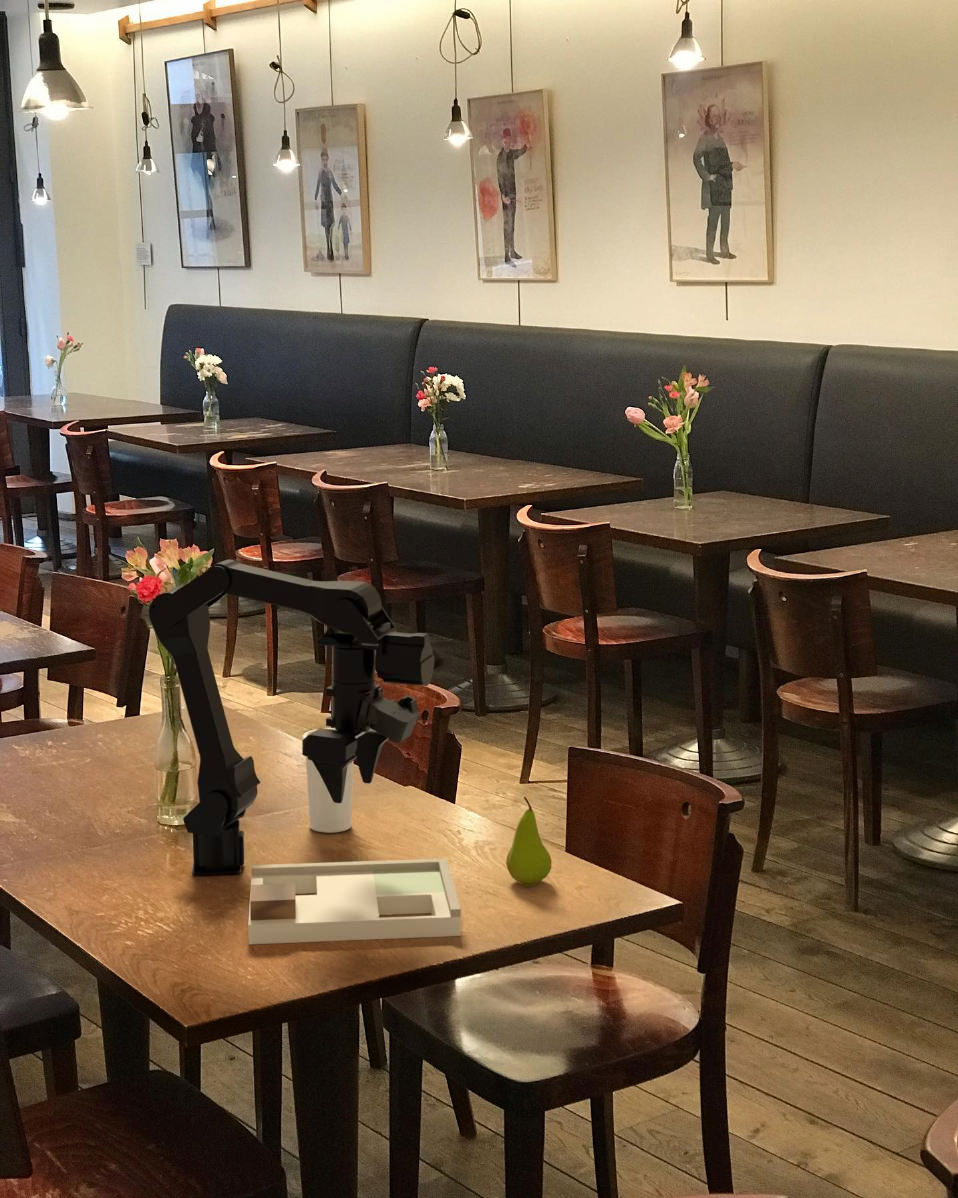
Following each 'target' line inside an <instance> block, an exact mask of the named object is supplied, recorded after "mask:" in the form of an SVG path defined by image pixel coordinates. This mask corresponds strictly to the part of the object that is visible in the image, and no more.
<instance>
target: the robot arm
mask: <svg viewBox="0 0 958 1198" xmlns="http://www.w3.org/2000/svg"><path fill="white" fill-rule="evenodd" d="M226 595H231V596H235V597H238V598H239V597H241V598H243V599H248V600H252V601H255V602H261V603H265V604H267V605H268V604H270V605H273V606H278V607H282V608H285V609H290V610H294V611H298V612H302V613H304V614H307V615H309V616H310V617H311V618H313V619H314V620H315V621H317V622H318V623H320V624H322V625H324V626H327V627H328V628H327V629H326V631H325V632H324V633H323V634H322V635H321V636H320V637H318V638H317V639H316V641H315V642H316V644H317V645H318V646H328V647H329V646H330V647H332V648H331V651H332V652H331V653H332V654H331V685H330V686H327V687H326V689H325V696H326V697H331V715H330V716H328V717H327V718H325V727H329V728H335V730H331V729H324V728H321V727H320V728H318V730H316V729H315V730H316V731H314V732H312V733H311V734H309V735H308V736H307V737H306V738H305V739H303V740H301V741H302V743H301V745H302V747H301V748H302V749H301V750H302V753H301V754H302V756H303V757H306V756H307V757H308V759H309V760H312V762H313V764H314V765H315V767H316V769H317V770H318V772H319V774H320V776H321V778H322V780H323V782H324V784H325V786H326V788H327V790H328V792H329V794H330V796H331V798H332V800H333V802H334V803H342V800H343V795H344V789H345V781H346V773H347V767H348V765H349V764H350V763H351V762H352V761H353V760H354V761H355V760H356V762H357V765H358V769H359V773H360V777H361V780H362V782H363V783H364V784H369V785H370V784H371V783H372V782H373V778H374V774H375V771H376V767H377V764H378V761H379V758H380V754H381V751H382V749H383V747H384V746H383V745H384V744H385V742H387V741H388V740H389V741H391V742H392V743H396V744H401V743H402V742H403V741H404V740H405V739H407V738H409V737H411V735H412V732H413V731H414V727H415V725H416V724H417V723H418V722H419V721H420V716H419V715H420V712H419V711H418V710H419V709H418V702H417V701H418V700H417V699H416V698H415V697H412V696H410V695H405V696H404V697H402V698H401V699H399V700H398V701H396V699H395V698H393V699H392V700H391V699H387V698H385V697H384V689H383V687H382V684H377V683H376V681H377V680H376V674H377V678H379V679H382V682H384V683H386V684H387V683H388V684H398V685H407V686H408V685H409V686H410V685H411V686H419V687H428V686H429V685H430V683H431V681H432V678H433V674H434V668H435V654H434V653H433V652H434V651H433V647H432V645H431V643H430V635H429V633H426V632H424V633H423V632H415V633H408V632H397V631H398V628H397V626H396V625H395V623H394V621H393V620H392V619H391V618H390V616H389V614H388V613H387V612H386V610H385V608H384V607H383V605H382V599H381V595H380V593H378V591H377V589H376V587H375V586H374V585H372V584H370V583H368V582H364V581H352V580H333V581H332V580H330V581H329V580H328V581H319V580H312V579H307V578H303V577H299V576H296V575H291V574H285V573H284V572H283V573H282V572H278V571H275V570H274V571H272V570H270V569H265V568H262V567H256V566H251V565H247V564H244V563H240V562H238V561H236V560H234V559H225V560H222V561H220V562H217V563H214V564H211V566H209V567H208V569H207V570H206V571H205V572H203V573H202V574H200V575H199V576H197V577H195V578H194V579H192V580H191V581H189V582H187V583H186V584H185V585H184V584H183V585H180V586H178V587H175V588H173V589H170V590H168V591H167V590H166V591H165V592H163V593H160V594H158V595H156V596H155V597H154V598H153V599H152V601H151V602H150V605H149V606H148V613H147V614H148V619H149V622H150V624H151V626H152V628H153V632H154V633H155V635H156V637H157V640H158V642H159V643H160V644H161V645H162V647H163V648H164V649H165V651H167V653H168V654H169V655H170V656H171V658H172V659H173V663H174V667H175V670H176V674H177V677H178V680H179V685H180V689H181V693H182V696H183V699H184V700H183V701H184V703H185V707H186V711H187V714H188V718H189V722H190V725H191V729H192V732H193V737H194V740H195V743H196V749H197V750H198V751H197V753H198V755H199V767H198V774H197V781H196V782H197V791H198V801H199V802H198V803H197V804H196V805H195V806H194V807H193V808H192V809H191V810H190V811H189V812H188V813H187V814H185V816H183V818H182V821H183V824H184V826H185V830H186V831H187V833H189V834H192V853H193V855H192V857H193V865H192V868H191V869H192V871H191V874H192V876H213V875H214V876H216V875H239V874H241V868H242V866H244V865H245V859H246V857H245V831H244V830H240V819H241V818H244V817H245V814H246V812H247V809H248V808H249V807H250V806H251V805H253V804H254V802H255V800H256V799H257V796H258V792H259V791H258V785H260V784H261V781H260V779H259V777H258V776H257V774H256V770H255V762H254V761H255V760H254V758H253V756H251V755H249V756H246V757H244V758H243V757H242V756H241V754H240V753H239V752H238V751H237V750H236V748H235V746H234V743H233V738H232V736H231V732H230V727H229V725H228V721H227V717H226V713H225V709H224V705H223V702H222V697H221V695H220V694H221V693H220V691H219V688H218V687H219V686H218V683H217V680H216V676H215V672H214V669H213V665H212V660H211V657H210V653H209V648H208V646H209V637H210V631H211V619H210V618H211V617H210V607H212V606H213V605H215V604H216V603H218V602H219V601H220V600H222V598H224V597H225V596H226ZM371 626H372V627H371ZM354 761H353V762H354Z"/></svg>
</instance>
